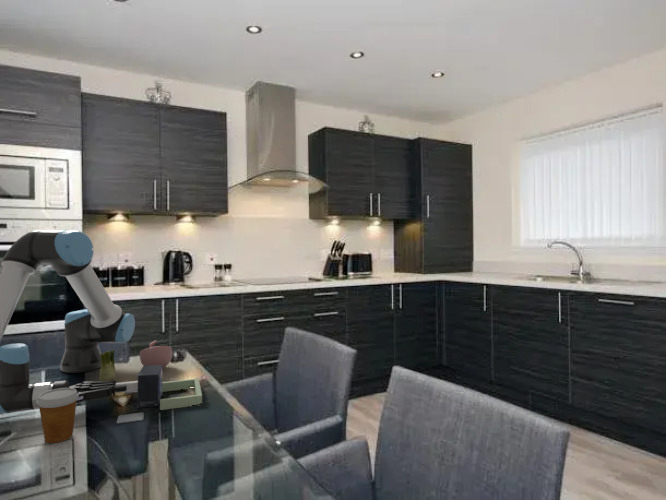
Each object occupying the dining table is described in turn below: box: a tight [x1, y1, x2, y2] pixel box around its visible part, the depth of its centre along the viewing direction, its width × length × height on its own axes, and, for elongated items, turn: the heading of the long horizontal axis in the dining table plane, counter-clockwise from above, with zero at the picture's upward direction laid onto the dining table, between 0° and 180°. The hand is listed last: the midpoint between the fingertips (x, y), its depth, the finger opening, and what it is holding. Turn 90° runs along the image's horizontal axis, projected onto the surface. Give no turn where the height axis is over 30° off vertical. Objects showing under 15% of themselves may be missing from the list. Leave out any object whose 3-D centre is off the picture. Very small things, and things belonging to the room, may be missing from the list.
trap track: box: [116, 378, 203, 425], centre depth 144 cm, size 30×24×3 cm
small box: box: [136, 365, 163, 409], centre depth 142 cm, size 11×6×10 cm, turn 15°
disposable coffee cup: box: [37, 388, 79, 444], centre depth 117 cm, size 10×10×12 cm
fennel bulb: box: [99, 350, 116, 381], centre depth 158 cm, size 6×5×12 cm
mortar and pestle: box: [139, 340, 173, 370], centre depth 175 cm, size 12×12×12 cm
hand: (138, 385), depth 140 cm, fingers closed
